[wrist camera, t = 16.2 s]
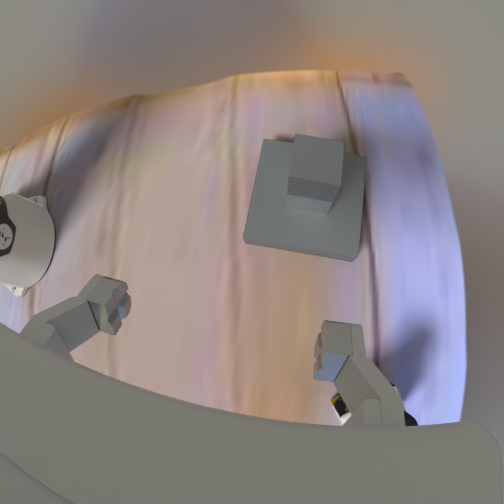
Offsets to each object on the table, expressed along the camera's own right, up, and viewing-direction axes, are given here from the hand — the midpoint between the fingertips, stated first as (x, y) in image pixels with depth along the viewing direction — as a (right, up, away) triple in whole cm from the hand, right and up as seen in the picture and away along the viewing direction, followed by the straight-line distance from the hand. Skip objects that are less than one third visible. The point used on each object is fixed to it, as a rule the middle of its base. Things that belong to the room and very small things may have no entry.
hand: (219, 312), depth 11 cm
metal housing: (+8, +10, +24) cm, 28 cm away
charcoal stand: (+9, +9, +27) cm, 30 cm away
